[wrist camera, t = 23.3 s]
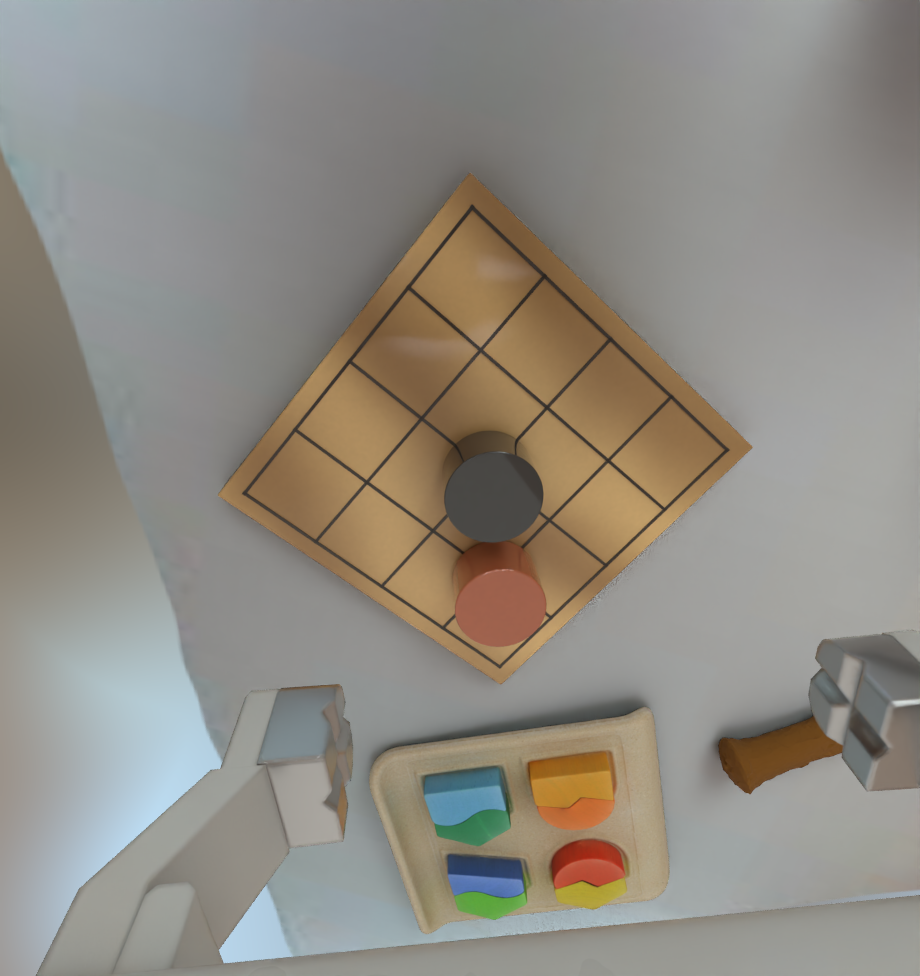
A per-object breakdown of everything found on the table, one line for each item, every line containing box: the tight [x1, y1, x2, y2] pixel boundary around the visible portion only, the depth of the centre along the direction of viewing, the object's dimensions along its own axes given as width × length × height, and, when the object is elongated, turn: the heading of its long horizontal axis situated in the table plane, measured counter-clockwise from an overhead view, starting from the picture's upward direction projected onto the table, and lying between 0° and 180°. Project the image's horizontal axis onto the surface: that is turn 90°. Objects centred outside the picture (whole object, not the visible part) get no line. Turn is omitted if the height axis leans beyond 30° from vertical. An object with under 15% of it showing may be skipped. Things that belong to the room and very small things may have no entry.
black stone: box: [442, 431, 544, 543], centre depth 32 cm, size 5×5×3 cm
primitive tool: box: [718, 716, 843, 794], centre depth 42 cm, size 19×6×4 cm, turn 110°
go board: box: [218, 173, 753, 684], centre depth 34 cm, size 20×20×1 cm
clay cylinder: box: [452, 541, 547, 647], centre depth 35 cm, size 5×5×3 cm
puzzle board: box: [369, 707, 670, 934], centre depth 44 cm, size 18×19×4 cm
